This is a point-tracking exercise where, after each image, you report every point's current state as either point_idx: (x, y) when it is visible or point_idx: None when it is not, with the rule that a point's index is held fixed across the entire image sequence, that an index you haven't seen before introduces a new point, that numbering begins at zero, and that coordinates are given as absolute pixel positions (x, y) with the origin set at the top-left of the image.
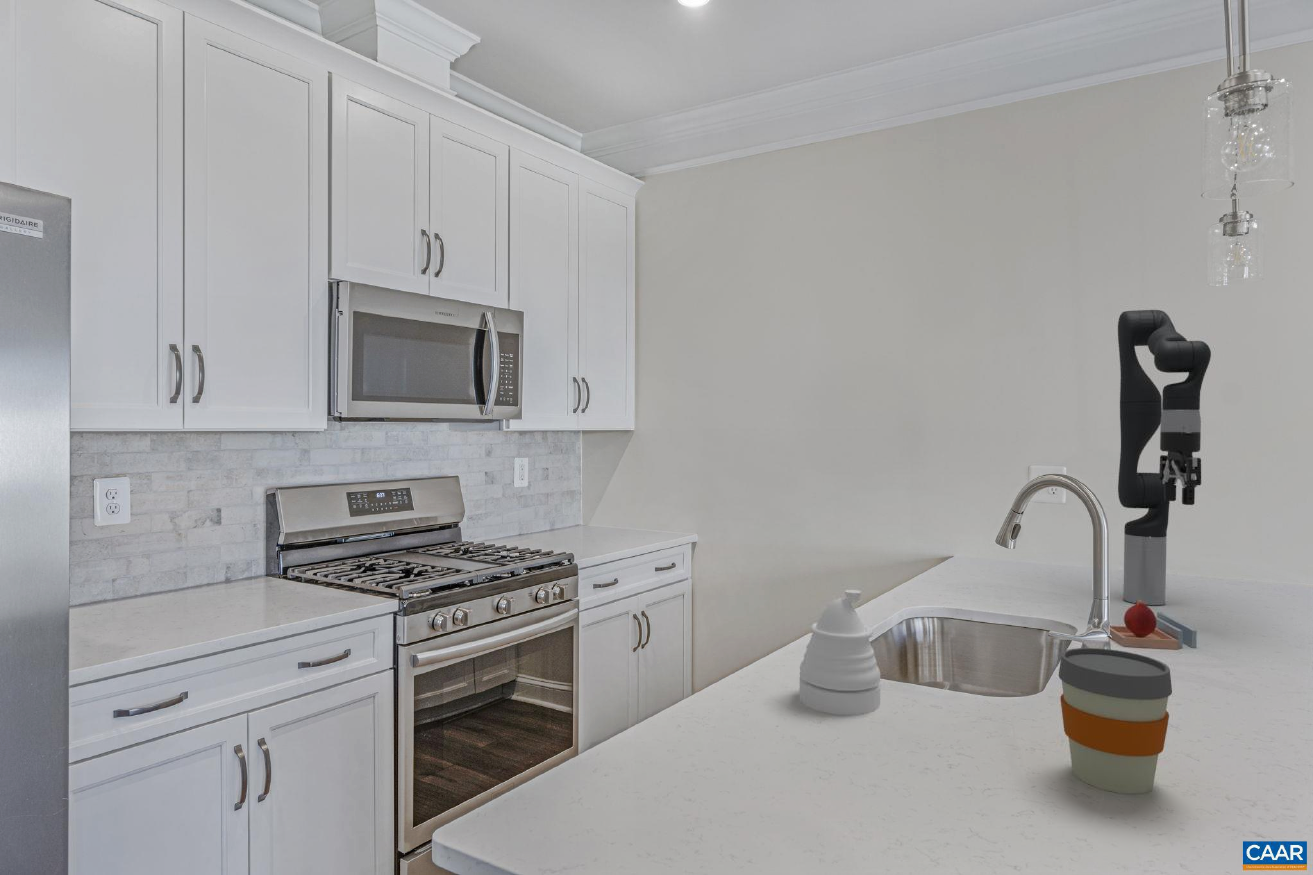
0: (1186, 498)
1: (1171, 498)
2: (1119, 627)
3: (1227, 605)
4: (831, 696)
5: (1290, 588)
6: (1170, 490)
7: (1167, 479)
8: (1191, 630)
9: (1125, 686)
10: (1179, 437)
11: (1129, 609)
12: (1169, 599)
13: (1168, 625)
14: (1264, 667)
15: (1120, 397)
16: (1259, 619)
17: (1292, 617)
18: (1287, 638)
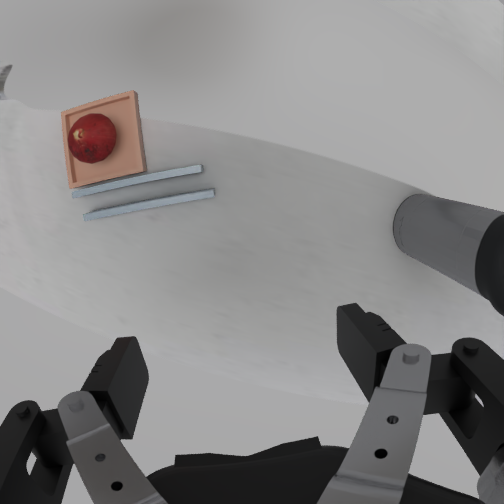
0: (100, 361)
1: (342, 337)
2: (131, 113)
3: (412, 339)
4: None
5: (481, 404)
6: (360, 357)
7: (381, 386)
8: (86, 214)
9: None
10: None
11: (84, 118)
12: None
13: (103, 184)
14: (38, 273)
15: None
16: (332, 359)
17: (353, 395)
18: (215, 360)
